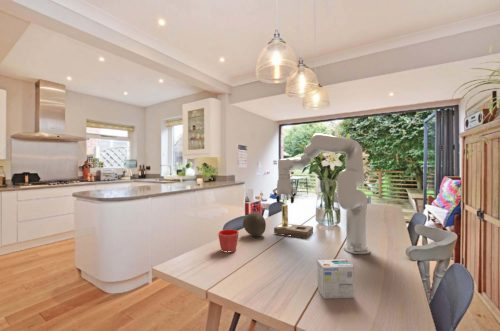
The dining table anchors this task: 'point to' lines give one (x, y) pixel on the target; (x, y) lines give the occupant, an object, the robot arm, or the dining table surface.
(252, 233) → the cantaloupe
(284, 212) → the brass peg
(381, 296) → the dining table surface
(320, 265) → the light bulb box
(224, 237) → the flower pot
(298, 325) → the dining table surface
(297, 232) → the brown flat wooden block
